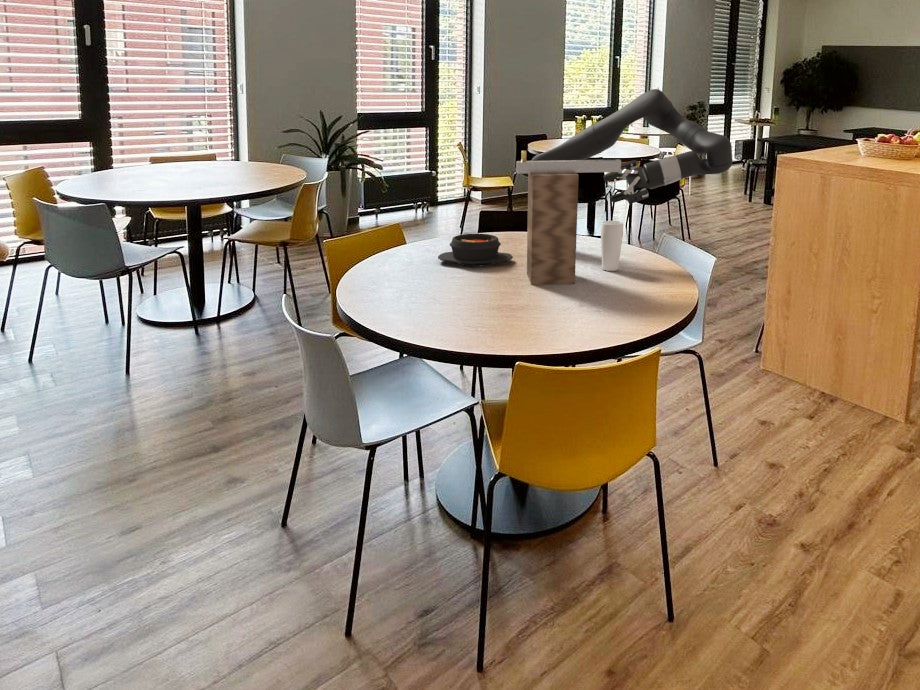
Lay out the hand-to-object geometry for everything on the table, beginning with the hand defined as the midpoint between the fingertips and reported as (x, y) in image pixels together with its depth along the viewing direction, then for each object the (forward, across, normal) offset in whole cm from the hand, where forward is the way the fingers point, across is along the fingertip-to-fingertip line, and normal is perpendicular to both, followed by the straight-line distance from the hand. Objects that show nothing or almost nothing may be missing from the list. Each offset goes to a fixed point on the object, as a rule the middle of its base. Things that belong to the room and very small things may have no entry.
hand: (607, 189), depth 233 cm
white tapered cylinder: (+5, +7, +28) cm, 30 cm away
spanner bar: (+10, -4, -7) cm, 13 cm away
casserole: (+46, -8, +24) cm, 53 cm away
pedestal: (+23, +14, +16) cm, 32 cm away
